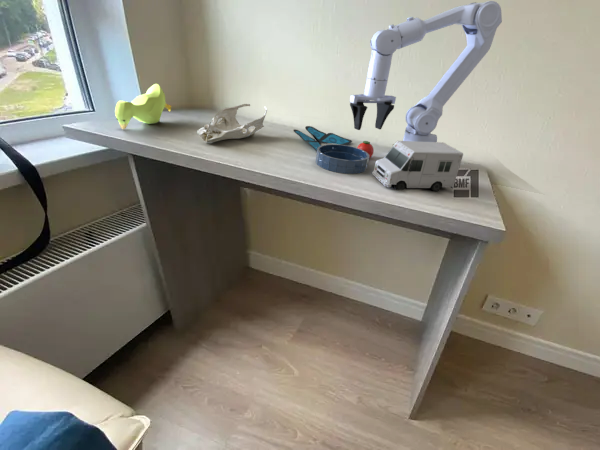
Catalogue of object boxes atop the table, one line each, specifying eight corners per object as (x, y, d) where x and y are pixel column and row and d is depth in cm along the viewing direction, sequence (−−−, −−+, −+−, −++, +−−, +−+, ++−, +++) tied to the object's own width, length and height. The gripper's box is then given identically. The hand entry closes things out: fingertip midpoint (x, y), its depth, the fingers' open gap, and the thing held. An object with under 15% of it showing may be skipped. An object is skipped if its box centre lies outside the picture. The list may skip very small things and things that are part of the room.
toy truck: (368, 171, 100) (375, 135, 95) (439, 178, 101) (450, 142, 96) (376, 190, 88) (385, 150, 84) (457, 198, 89) (471, 158, 84)
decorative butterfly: (314, 130, 128) (315, 122, 127) (350, 143, 122) (352, 135, 121) (280, 144, 113) (281, 135, 112) (319, 160, 108) (321, 151, 106)
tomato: (371, 157, 111) (374, 140, 109) (372, 162, 107) (375, 145, 105) (354, 155, 112) (357, 138, 109) (355, 160, 107) (358, 143, 105)
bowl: (365, 161, 107) (368, 148, 106) (367, 178, 95) (370, 163, 93) (317, 155, 108) (319, 141, 106) (313, 171, 96) (315, 156, 94)
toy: (154, 136, 128) (107, 125, 109) (162, 87, 126) (116, 68, 107) (168, 139, 127) (124, 129, 108) (177, 90, 124) (133, 71, 105)
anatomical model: (275, 108, 119) (225, 116, 99) (273, 136, 123) (224, 149, 103) (238, 100, 125) (184, 106, 105) (238, 127, 129) (185, 138, 109)
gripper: (364, 80, 94) (355, 133, 101) (407, 82, 101) (395, 131, 107) (349, 76, 100) (341, 126, 106) (390, 78, 106) (380, 125, 113)
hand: (367, 128), depth 107 cm, fingers open, 7 cm apart
